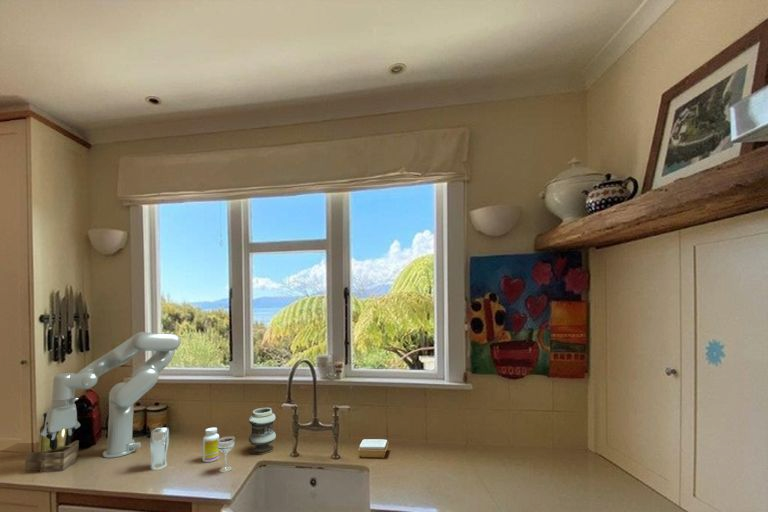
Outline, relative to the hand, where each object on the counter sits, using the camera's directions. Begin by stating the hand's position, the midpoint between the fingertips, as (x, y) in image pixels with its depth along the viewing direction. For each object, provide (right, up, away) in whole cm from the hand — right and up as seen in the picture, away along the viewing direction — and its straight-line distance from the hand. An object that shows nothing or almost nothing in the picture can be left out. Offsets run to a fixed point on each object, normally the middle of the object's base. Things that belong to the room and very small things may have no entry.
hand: (59, 446), depth 164 cm
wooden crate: (-4, -9, +2) cm, 10 cm away
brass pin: (0, -4, 0) cm, 4 cm away
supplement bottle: (+63, -8, +4) cm, 64 cm away
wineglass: (+74, -6, -7) cm, 75 cm away
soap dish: (+135, -7, +6) cm, 136 cm away
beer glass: (+44, -8, -3) cm, 45 cm away
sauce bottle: (-15, -10, +11) cm, 21 cm away
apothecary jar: (+83, -8, +13) cm, 85 cm away
